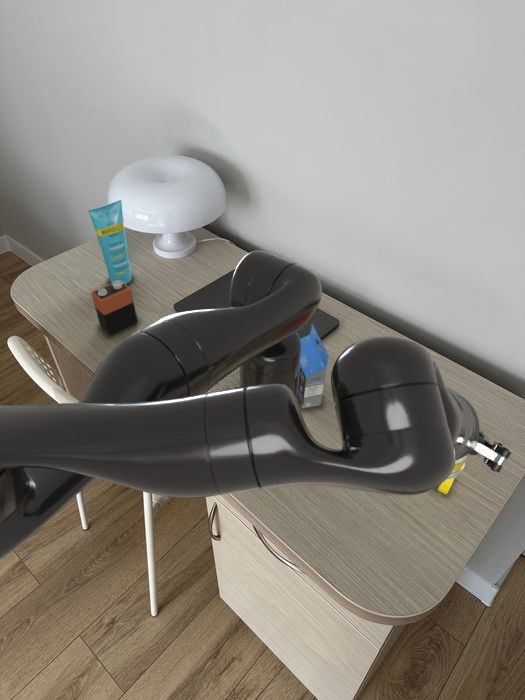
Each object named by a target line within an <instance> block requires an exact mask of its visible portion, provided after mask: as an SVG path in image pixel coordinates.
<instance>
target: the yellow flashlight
mask: <svg viewBox="0 0 525 700" xmlns="http://www.w3.org/2000/svg"><path fill="white" fill-rule="evenodd" d="M465 462H466V461H465ZM465 462H464V464H463V466H462V468H461V470H460V472H462V471H463V470H464V468H465V466H466V463H465ZM454 481H455V478H453V479H451V480H446V481H444V482H443V483H441V484H440V485H439V486H438V487H437V491H438V492H440V493H442V494H445V495H447V494H448V493H449V491H450V490H451V487H452V485H453V483H454Z"/></svg>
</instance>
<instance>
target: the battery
mask: <svg viewBox="0 0 525 700" xmlns="http://www.w3.org/2000/svg"><path fill="white" fill-rule="evenodd" d="M91 298H92V301H93V304H94V305H93V306H94V309H95V312H96V315H97V318H98V322H99V326H100V327H101V328H102V330H103V331H105V332H106V333H107V334H108V335H109V336H112V335H114V334H117V333H119V332H120V331H123V330H125V329H127V328H129V327H132V326H133V325H135V324H137V323H138V317H137V316H138V315H137V312H136V307H135V302H134V298H133V294H132V289H131V288H130V287H129V285H127V284H125V283H123V282H122V281H121V280H118V281H114V282H113V283H111V282H110V283H109V284H107V285H104V286H102V287H100V288H97V289H95V290H93V291H91Z"/></svg>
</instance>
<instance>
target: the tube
mask: <svg viewBox="0 0 525 700" xmlns="http://www.w3.org/2000/svg"><path fill="white" fill-rule="evenodd" d="M87 213H88V215H89V217H90V219H91V223H92V225H93V228H94V231H95V233H96V236H97V240H98V243H99V247H100V250H101V252H102V257H103V260H104V263H105V267H106V270H107V274H108V277H109V280H110V284H111V283H113V282H114V281H118V280H121V281H122V282H123V283H125V284H126V285H127V284H129V283H130V282H131V281H132V272H131V271H132V270H131V266H130V260H129V252H128V245H127V238H126V230H125V221H124V214H123V213H124V212H123V203H122V199H118V200H115V201H112V202H110V203H107V204H105V205H102V206H98V207H94V208H91V209H88V210H87Z"/></svg>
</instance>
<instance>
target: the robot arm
mask: <svg viewBox="0 0 525 700" xmlns="http://www.w3.org/2000/svg"><path fill="white" fill-rule="evenodd" d="M230 282H231V283H230V290H229V307H222V308H221V307H220V308H219V307H218V308H207V309H204V308H203V309H196V310H195V309H194V310H188V311H187V310H186V311H182V312H181V311H180V312H177V313H172V314H169V315H166V316H164V317H162V318H159V319H157V320H155V321H153V322H151V323H149V324H147V325H146V326H143V327H142V328H140V329H139V330H136V331H135V332H133V333H130V334H129V335H127V336H125V337H124V338H122V339H121V340H120V341H118V342H117V343H116V344H114V345H113V346H112V348H111V349H109V351H108V352H107V353H106V354H105V356H104V357H103V359H102V360H101V361H100V363H99V365H98V367H97V368H96V370H95V371H94V373H93V374H92V376H91V377H90V380H89V382H88V383H87V385H86V387H85V389H84V391H83V393H82V394H81V397H80V398H79V400H78V402H62V403H61V402H58V403H55V402H54V403H53V402H52V403H23V404H21V403H20V404H19V403H18V404H17V403H15V404H14V403H13V404H0V561H1V560H3V559H4V558H5V557H7V556H8V555H10V554H11V553H12V552H13V551H15V550H16V549H17V548H19V547H20V546H21V545H23V544H24V543H25V542H26V541H28V539H30V538H31V537H32V536H33V535H35V533H37V532H38V531H39V530H40V529H41V528H42V527H43V526H45V524H47V523H48V522H49V521H50V520H51V519H52V518H53V517H55V516H56V515H57V514H58V513H59V512H60V511H61V510H63V508H64V507H65V506H67V504H68V503H70V502H71V501H72V500H73V499H74V498H75V497H76V496H77V495H79V494H80V493H81V492H82V491H83V490H84V489H85V488H86V487H87V486H88V485H89V484H90V483H91V482H92V481H94V479H99V480H102V481H104V482H105V481H106V482H108V483H109V482H110V483H111V484H115V485H119V486H123V487H126V488H129V489H133V490H137V491H140V492H143V493H146V494H152V495H156V496H162V497H168V498H177V499H201V498H211V497H218V496H223V495H224V496H225V495H230V494H237V493H243V492H250V491H251V492H252V491H256V490H261V489H270V488H271V489H272V488H279V487H280V488H281V487H289V486H290V487H292V486H293V487H294V486H315V487H316V486H319V487H329V488H330V487H331V488H341V489H348V490H354V491H355V490H356V491H361V492H368V493H374V494H382V495H390V496H402V497H403V496H418V495H421V494H425V493H428V492H430V491H433V490H434V489H436V488H438V487H439V485H440V484H441V483H443V482H444V481H445V480H446V479H447V478H448V476H449V475H450V474H451V472H452V470H453V468H454V466H455V461H456V460H459V459H461V458H462V457H464V456H467V457H470V456H474V457H476V456H477V457H480V456H484V458H483V460H482V463H483V464H484V465H486V466H487V467H488V468H490V470H491V471H492V472H494V473H496V472H497V473H498V474H500V472H501V470H502V469H503V467H504V466H505V464H506V463H507V461H508V459H509V458H510V456H511V455H512V452H511V451H510V449H509V448H507V447H505V446H503V444H502V443H501V442H497V441H494V442H493V443H492V444H491V443H490V440H491V438H490V437H489V436H488V434H486V433H485V430H484V429H482V428H481V427H480V421H479V417H478V414H477V412H476V410H475V408H474V407H473V405H472V404H471V403H470V402H469V401H468V400H467V399H466V398H465V397H463V396H462V395H461V394H459V393H458V392H457V391H455V390H454V389H452V388H450V387H448V386H446V385H445V382H444V381H445V380H444V379H443V376H442V373H441V371H440V368H439V366H438V364H437V361H436V360H435V358H434V356H433V355H432V353H431V352H430V351H429V350H428V349H427V348H426V347H425V346H424V345H422V344H420V343H419V342H417V341H415V340H414V339H413V340H412V339H410V338H408V337H403V336H399V335H393V334H391V335H390V334H388V335H387V334H379V335H373V336H369V337H366V338H365V337H364V338H362V339H360V340H357V341H355V342H354V343H352V344H351V345H348V346H347V347H345V349H344V350H343V351H342V352H341V353H340V354H339V356H338V357H337V358H336V360H335V361H334V364H333V365H332V369H331V373H330V387H331V388H330V389H331V393H332V398H333V399H332V400H333V403H334V409H335V416H336V420H337V424H338V430H339V431H338V432H339V435H340V440H341V445H342V446H341V448H339V449H337V448H332V447H328V446H325V445H324V444H321V443H320V442H319V441H317V439H315V438H314V436H313V434H312V433H311V431H310V430H309V428H308V426H307V423H306V421H305V419H304V416H303V413H302V411H301V408H300V405H299V403H298V400H297V399H298V396H297V387H298V376H299V365H300V355H301V340H300V339H301V337H300V335H299V333H298V332H299V331H300V330H301V329H302V328H304V326H305V325H307V324H308V322H309V321H310V320H311V319H312V317H313V316H314V314H315V313H316V311H317V310H318V308H319V305H320V302H321V300H322V294H323V287H322V283H321V280H320V278H319V277H318V276H317V274H316V273H314V272H313V271H312V270H311V269H309V268H307V267H305V266H303V265H301V264H299V263H296V262H294V261H292V260H288V259H286V258H283V257H281V256H278V255H276V254H273V253H272V252H268V251H266V250H262V249H261V250H260V249H259V250H254V251H251V252H249V253H247V254H245V255H244V256H243V258H242V259H241V260H240V261H239V262H238V264H237V265H236V268H235V270H234V272H233V274H232V278H231V281H230ZM237 369H239V386H235V387H234V388H230V389H223V390H217V391H211V392H209V391H210V390H211V389H212V388H214V387H215V386H216V385H217V384H218V383H219V382H221V381H222V380H224V379H225V378H226V377H227V376H229V375H231V374H232V373H233V372H235V371H236V370H237Z"/></svg>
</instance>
